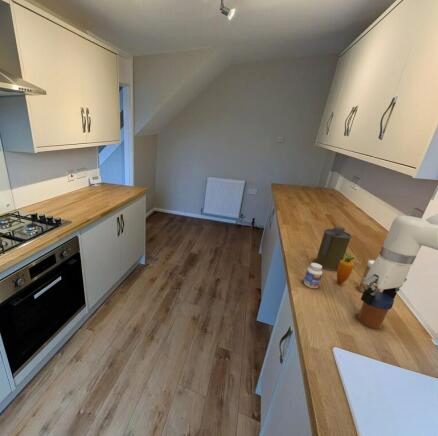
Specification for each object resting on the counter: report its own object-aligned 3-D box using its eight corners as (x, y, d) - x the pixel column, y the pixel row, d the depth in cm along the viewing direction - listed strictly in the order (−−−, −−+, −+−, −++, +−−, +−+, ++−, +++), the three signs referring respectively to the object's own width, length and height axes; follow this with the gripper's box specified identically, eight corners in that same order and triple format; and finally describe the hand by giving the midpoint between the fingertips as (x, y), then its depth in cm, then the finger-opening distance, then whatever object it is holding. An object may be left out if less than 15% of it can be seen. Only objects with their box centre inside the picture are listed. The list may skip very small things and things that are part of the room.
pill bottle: (311, 289, 99) (317, 269, 96) (300, 282, 104) (305, 262, 100) (321, 287, 100) (327, 267, 97) (310, 280, 105) (315, 261, 102)
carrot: (348, 288, 100) (360, 257, 95) (334, 286, 102) (345, 255, 96) (343, 281, 104) (354, 251, 99) (330, 279, 106) (340, 249, 101)
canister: (323, 258, 124) (334, 222, 117) (345, 268, 115) (358, 230, 108) (309, 261, 120) (319, 225, 113) (330, 272, 111) (343, 233, 104)
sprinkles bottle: (359, 292, 98) (371, 264, 93) (356, 286, 102) (366, 258, 97) (374, 295, 96) (386, 266, 91) (369, 289, 100) (381, 261, 95)
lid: (373, 294, 83) (376, 288, 83) (396, 308, 77) (400, 301, 76) (358, 297, 82) (360, 290, 81) (380, 311, 76) (383, 304, 75)
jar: (366, 314, 86) (376, 290, 82) (385, 327, 80) (397, 302, 77) (352, 316, 85) (362, 292, 81) (371, 330, 79) (382, 304, 75)
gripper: (403, 247, 79) (383, 291, 85) (362, 251, 75) (344, 296, 81) (433, 259, 72) (409, 305, 78) (389, 264, 68) (367, 312, 74)
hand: (376, 300), depth 80 cm, fingers open, 8 cm apart
